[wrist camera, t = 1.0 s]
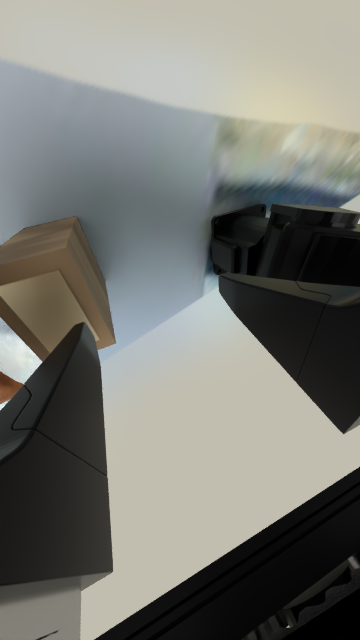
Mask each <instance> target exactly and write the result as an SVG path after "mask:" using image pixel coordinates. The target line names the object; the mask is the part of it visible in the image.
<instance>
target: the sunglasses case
mask: <svg viewBox="0 0 360 640" xmlns="http://www.w3.org/2000/svg"><path fill="white" fill-rule="evenodd" d="M23 385H24V384H22V383H20V382H17V381H15V380H13V379H11V378H10V377H8V376H7V375H5V374H3V373H2V372H0V404H2V403H4V402H6V401H8V400H9V399H11V398H12V397H13V396H14V395H15V394H16V393H17V391H18V390H19V389H20V388H21V387H22V386H23Z"/></svg>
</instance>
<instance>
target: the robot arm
mask: <svg viewBox="0 0 360 640" xmlns="http://www.w3.org/2000/svg"><path fill="white" fill-rule="evenodd" d="M261 208H262V210H261ZM260 210H261V211H260ZM270 211H271V214H270V217H269V218H265V215H266V205H265V204H258V205H254V206H251V207H247V208H243V209H240V210H236V211H232V212H229V213H225V214H221V215H218V216H215V217H213V219H212V240H211V247H212V262H213V263H214V273H215V274H216V275H219V278H218V280H219V292H220V294H221V296H222V297H223V298H224V300H225V301H226V303H227V304H228V306H229V307H230V308H231V310H232V311H233V312H234V314H235V315H236V316H237V317H238V318H239V320H240V321H241V322H242V323H243V324H244V325H245V326H246V327H247V328H248V330H249V331H250V332H251V333H252V334H253V335H254V336H255V337H256V338H257V339H258V341H259V342H260V343H261V344H262V345H263V346H264V347H265V348H266V349H267V350H268V352H269V353H270V354H271V355H272V356H273V357H274V358H275V359H276V360H277V362H278V363H279V364H280V365H281V366H282V367H283V368H284V369H285V370H286V372H287V373H288V374H289V375H290V376H291V377H292V378H293V379H294V380H295V381H296V383H297V384H298V385H299V386H300V387H301V388H302V389H303V391H304V392H305V393H306V394H307V395H308V396H309V397H310V398H311V399H312V401H313V402H314V403H315V404H316V405H317V406H318V407H319V408H320V409H321V410H322V412H324V414H325V415H326V416H327V417H328V418H329V419H330V420H331V422H332V423H333V424H334V425H335V426H336V427H337V428H338V429H339V430H340V431H341V432H342V433H343V434H345V433H347V432H348V431H350V430H352V429H353V428H355V427H357V426H358V425H360V224H357V223H358V221H359V219H360V213H359V212H355V211H351V210H346V209H342V208H333V207H322V206H310V205H291V204H272V206H271V209H270ZM217 219H218V222H217V224H216V223H215V222H216V220H217ZM218 270H219V271H218ZM217 271H218V272H217ZM227 272H229V273H227ZM102 396H103V395H102V379H101V366H100V361H99V356H98V351H97V346H96V341H95V337H94V335H93V333H92V332H91V330H90V329H89V327H88V325H87V324H86V323H85V322H81V323H78V324H75V325H74V326H73V327H72V329H71V330H70V331H69V332H68V333H67V334H66V336H65V337H64V338H63V339H62V340H61V341H60V343H59V344H58V345H57V346H56V347H55V348H54V350H53V351H52V352H51V353H50V354H49V355H48V357H47V358H46V359H45V360H44V361H43V362H42V363H41V365H40V366H39V367H38V368H37V369H36V370H35V372H34V373H33V374H32V375H31V376H30V377H29V379H28V380H27V381H26V382H25V383H24V385H23V386H22V387H21V388H20V389H19V390H18V391H17V393H16V394H15V395H14V396H13V397H12V398H11V399H10V401H9V402H8V403H7V404H6V405H5V406H4V407H3V408H2V409H1V410H0V640H80V620H81V619H80V616H81V591H82V590H84V589H85V588H87V587H89V586H90V585H92V584H94V583H95V582H97V581H98V580H100V579H102V578H104V577H105V576H107V575H109V574H110V573H112V572H113V559H112V543H111V525H110V509H109V493H108V478H107V462H106V445H105V428H104V413H103V397H102ZM288 625H289V627H290V628H286V627H287V626H288ZM94 640H360V467H359V468H357V469H356V470H354V471H353V472H351V473H349V474H348V475H347V476H345V477H343V478H342V479H340V480H339V481H337V482H336V483H334V484H333V485H331V486H329V487H328V488H327V489H325V490H323V491H322V492H320V493H319V494H317V495H316V496H314V497H313V498H311V499H310V500H308V501H306V502H305V503H304V504H302V505H301V506H299V507H297V508H296V509H294V510H293V511H291V512H290V513H288V514H286V515H285V516H283V517H282V518H281V519H279V520H277V521H276V522H274V523H273V524H271V525H270V526H268V527H266V528H265V529H263V530H262V531H261V532H259V533H257V534H256V535H254V536H253V537H251V538H250V539H248V540H247V541H245V542H244V543H242V544H240V545H239V546H237V547H236V548H234V549H233V550H231V551H230V552H228V553H227V554H225V555H223V556H222V557H220V558H219V559H217V560H216V561H214V562H213V563H211V564H210V565H208V566H207V567H205V568H203V569H202V570H200V571H199V572H197V573H196V574H194V575H193V576H191V577H190V578H188V579H187V580H185V581H184V582H182V583H181V584H179V585H178V586H176V587H174V588H173V589H171V590H170V591H168V592H167V593H165V594H164V595H162V596H161V597H159V598H157V599H156V600H154V601H153V602H151V603H150V604H148V605H147V606H145V607H144V608H142V609H141V610H139V611H138V612H136V613H134V614H133V615H131V616H130V617H128V618H127V619H125V620H124V621H122V622H121V623H119V624H117V625H116V626H114V627H113V628H111V629H110V630H108V631H107V632H105V633H104V634H102V635H101V636H99V637H98V638H96V639H94Z"/></svg>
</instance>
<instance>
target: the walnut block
mask: <svg viewBox="0 0 360 640" xmlns="http://www.w3.org/2000/svg"><path fill="white" fill-rule="evenodd" d="M0 317H1V318H2V319H3V320H4V321H5V322H6V323H7V325H8V326H9V327H10V328H11V329H12V330H13V331H14V332H15V333H16V334H17V335H18V336H19V337H20V338H21V339H22V340H23V341H24V342H25V344H26V345H27V346H28V347H29V348H30V349H31V350H32V351H33V352H34V353H35V354H36V355H37V356H38V357H39V358H40V359H41V360H42V361H44V360H45V359H46V358H47V357H48V355H49V354H50V353H51V352H52V351H53V350H54V348H55V347H56V346H57V345H58V344H59V343H60V341H61V340H62V339H63V338H64V337H65V336H66V334H67V333H68V332H69V331H70V330H71V329H72V327H73V326H74V325H75V324H78V323H81V322H85V323H86V324H87V325H88V327H89V329H90V330H91V332H92V333H93V335H94V337H95V341H96V346H97V350H99V349H102V348H104V347H107V346H110V345H112V344H115V343H116V341H115V335H114V329H113V324H112V318H111V312H110V306H109V301H108V295H107V289H106V283H105V280H104V277H103V275H102V273H101V271H100V268H99V266H98V264H97V262H96V260H95V257H94V255H93V253H92V251H91V248H90V246H89V244H88V242H87V239H86V237H85V235H84V233H83V230H82V228H81V226H80V224H79V221H78V219H77V217H76V216H75V217H70V218H66V219H62V220H58V221H53V222H49V223H45V224H40V225H36V226H32V227H28V228H24V229H23V230H21V231H20V232H18V233H17V234H16V235H14V236H13V237H12V238H10V239H9V240H8V241H6V242H5V243H4V244H2V245H1V246H0Z"/></svg>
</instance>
